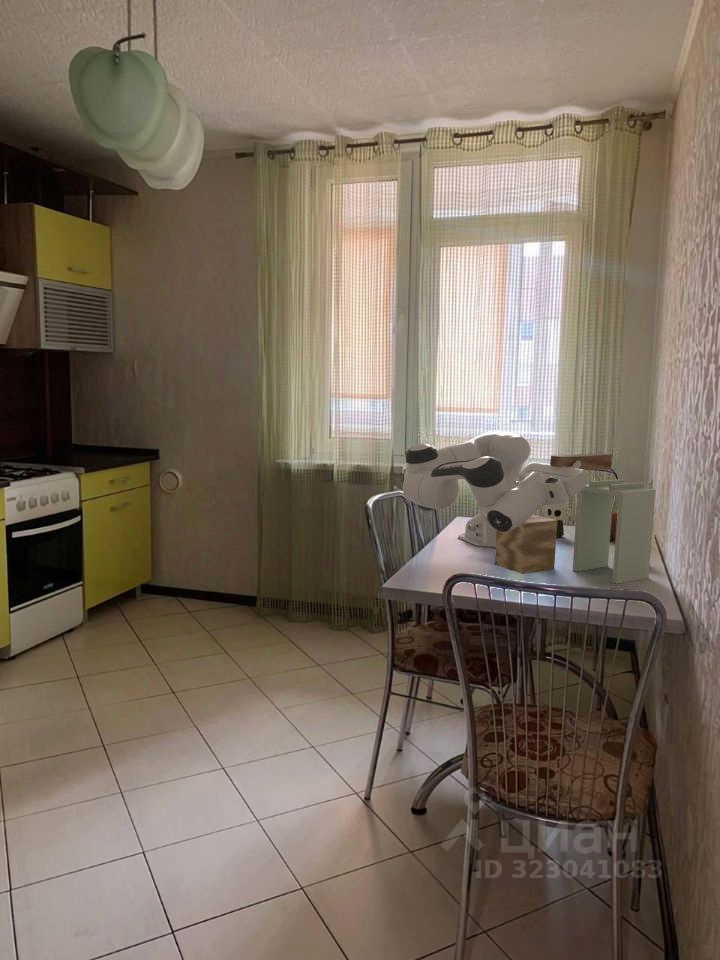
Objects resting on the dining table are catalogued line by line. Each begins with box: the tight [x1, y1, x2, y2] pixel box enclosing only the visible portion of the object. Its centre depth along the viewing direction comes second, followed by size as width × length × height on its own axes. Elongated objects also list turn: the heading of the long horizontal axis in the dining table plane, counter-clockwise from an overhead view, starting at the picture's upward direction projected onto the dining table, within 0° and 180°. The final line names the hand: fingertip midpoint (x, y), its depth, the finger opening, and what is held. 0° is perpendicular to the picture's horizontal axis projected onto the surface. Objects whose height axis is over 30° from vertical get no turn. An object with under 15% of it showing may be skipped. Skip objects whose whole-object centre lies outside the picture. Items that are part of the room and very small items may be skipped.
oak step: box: [494, 514, 557, 575], centre depth 218 cm, size 12×13×15 cm
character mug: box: [541, 501, 572, 538], centre depth 265 cm, size 11×7×13 cm, turn 54°
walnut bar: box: [549, 452, 613, 471], centre depth 199 cm, size 4×20×4 cm, turn 122°
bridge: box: [572, 478, 657, 585], centre depth 211 cm, size 16×14×28 cm
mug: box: [610, 509, 618, 541], centre depth 262 cm, size 12×9×10 cm
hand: (570, 461), depth 197 cm, fingers closed on walnut bar, 4 cm apart
